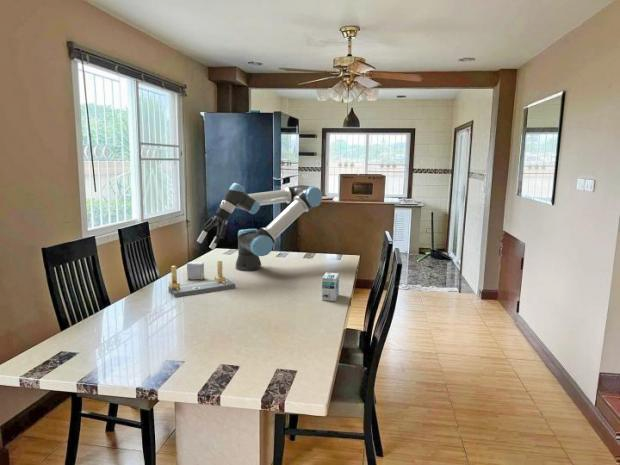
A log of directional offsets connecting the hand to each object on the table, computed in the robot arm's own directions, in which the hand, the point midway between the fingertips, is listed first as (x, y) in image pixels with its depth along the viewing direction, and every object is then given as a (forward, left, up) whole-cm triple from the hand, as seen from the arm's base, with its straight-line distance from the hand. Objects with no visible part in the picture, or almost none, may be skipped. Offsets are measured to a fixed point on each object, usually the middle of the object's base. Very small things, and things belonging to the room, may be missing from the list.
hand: (204, 245), depth 230 cm
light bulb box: (-42, +56, -19) cm, 72 cm away
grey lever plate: (+6, +14, -19) cm, 24 cm away
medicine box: (+3, -6, -19) cm, 20 cm away
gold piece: (+19, +14, -16) cm, 29 cm away
